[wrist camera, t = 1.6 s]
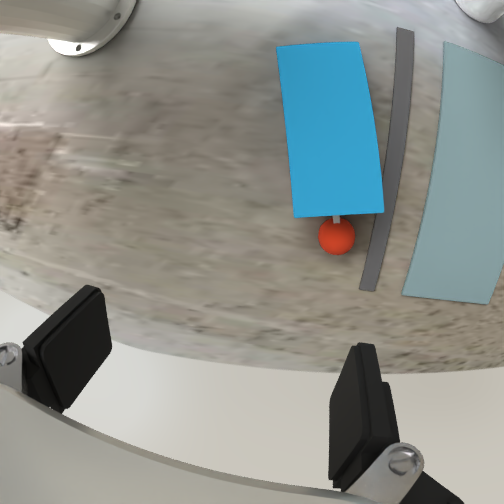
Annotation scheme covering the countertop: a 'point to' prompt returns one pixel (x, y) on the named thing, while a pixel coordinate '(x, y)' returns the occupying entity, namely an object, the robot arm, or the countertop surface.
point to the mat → (464, 186)
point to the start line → (392, 156)
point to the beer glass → (482, 9)
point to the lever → (330, 137)
